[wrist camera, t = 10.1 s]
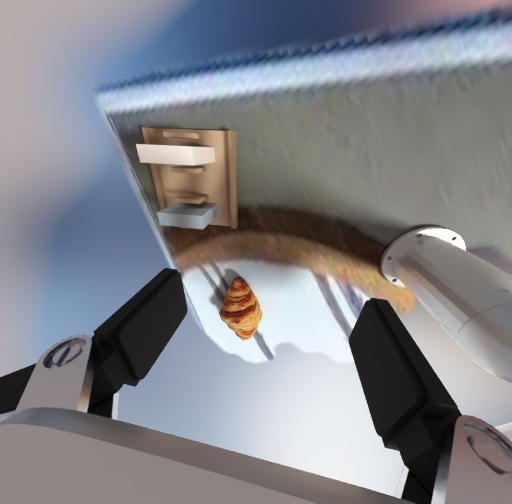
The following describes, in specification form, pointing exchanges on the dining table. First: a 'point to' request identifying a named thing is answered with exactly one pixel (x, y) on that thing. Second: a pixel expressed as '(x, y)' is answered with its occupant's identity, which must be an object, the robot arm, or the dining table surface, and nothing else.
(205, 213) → the dish rack
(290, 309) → the dining table surface
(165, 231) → the dining table surface
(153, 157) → the low beige gift box
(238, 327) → the croissant
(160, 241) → the dining table surface
